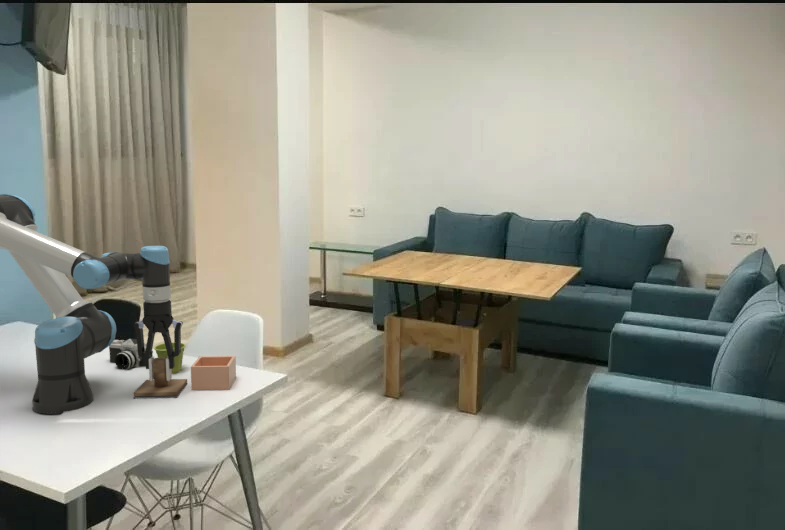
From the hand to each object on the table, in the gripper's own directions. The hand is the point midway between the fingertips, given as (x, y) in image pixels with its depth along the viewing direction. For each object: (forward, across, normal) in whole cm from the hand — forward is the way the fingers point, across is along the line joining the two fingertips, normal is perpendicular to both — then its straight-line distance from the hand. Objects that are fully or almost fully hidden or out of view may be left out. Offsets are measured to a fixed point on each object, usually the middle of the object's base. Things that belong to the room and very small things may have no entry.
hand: (160, 379), depth 196 cm
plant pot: (+4, -2, +18) cm, 18 cm away
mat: (+4, 0, 0) cm, 4 cm away
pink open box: (+4, +14, +6) cm, 16 cm away
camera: (+4, -18, +24) cm, 30 cm away
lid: (+3, 0, 0) cm, 3 cm away
